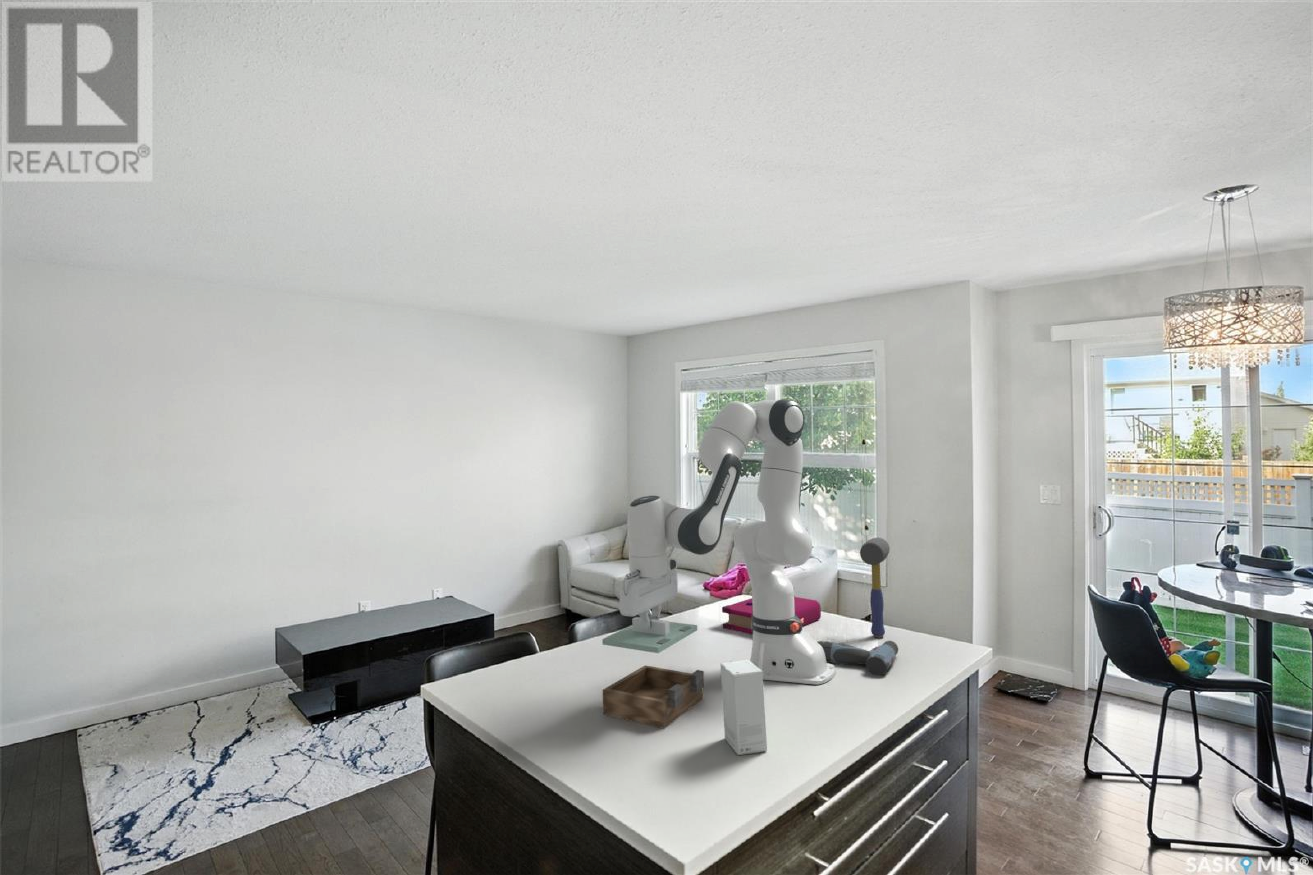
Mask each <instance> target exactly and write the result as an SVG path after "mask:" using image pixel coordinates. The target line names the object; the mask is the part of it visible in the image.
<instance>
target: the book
mask: <svg viewBox="0 0 1313 875" xmlns="http://www.w3.org/2000/svg"><path fill="white" fill-rule="evenodd" d="M794 609H795V615H796V616H797V617H798V618H799V619H800V620H801V619H802V618H804V619H803V621H804V622H803V623H802V627H804V626H806V625H809V624H811V623H814V622H817V621H819V620H820V619H821V618H822V607H821V604H820V602H819V601H818V600H817V599H812V598H811V599H810V598H803V597H797V596H794ZM721 612H722V613H724V614H727V615H728V620H727V622H724V623H722V628H723V629H725V630H729V631H734V632H739V633H744V634H748V635H752V629H751V616H752V614H753V604H752V597H751V598H749V599H745V600H742V601H739V602H736V603H732V604H728V605H724V606H722V607H721Z"/></svg>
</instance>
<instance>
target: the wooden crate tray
mask: <svg viewBox="0 0 1313 875" xmlns="http://www.w3.org/2000/svg"><path fill="white" fill-rule="evenodd" d="M704 673H705V672H704V670H699V669H697V670H695V671H694V672H692V673H689V672H684V671H679V670H672V669H668V668H661V667H656V666H651V665H650V666H649V665H646V664H645V665H644V666H642V667H640V668H638V669H636V670H633V671H632V672H631V673H629V674H627V675H626V676H624V677H622V678H620V679H619V680H617V681H615V682H613V683H612V684H610V685H608V686H607V687H605V688H603V689H602V710H603V713H602V714H603V715H605V714H607V715H606V716H609V715H611V716H610V717H613V716H614V718H618V719H622V720H626V719H628V720H627V721H630V720H631V721H630V722H635V723H639V724H643V723H644V724H643V725H647V724H648V726H653V727H657V728H661V729H665V728H667V727H668V726H669V725H670V723H671V724H672V723H673V722H674V721H676V720H677V719H679V718H680V717H681V716H682V715H685V713H687V711H688V710H690V709H691V708H693V707H695V705H697V704H698V703H700V701H702V700H703V698H704V697H703V689H704V688H705V679H704V678H705V676H704V675H705V674H704Z"/></svg>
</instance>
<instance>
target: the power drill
mask: <svg viewBox="0 0 1313 875" xmlns="http://www.w3.org/2000/svg"><path fill="white" fill-rule="evenodd" d="M816 642H817V643H818V644H820V645H821V646H822V648H823V650H824V653H825V657H826V662H827V663H833V664H840V665H853V666H854V665H865V666H866V669H867V671H868V672H869V673H870V674H872V675H874V676H879V677H880V676H884V674H885V673H886V672H887V671H888V670H889V668H890V667H891V666H892V664H893V663H894V661H895V660H896V656H897V654H898V652H899V646H898V645H897V643H896V642H895V641H893V640H886V641H884V643H882V644H880V645H876V646H875V647H873V648H871V649H870V650H867V649H864V648H861V647H856V646H853V645H849V644H845V643H839V642H833V641H823V640H822V641H821V640H818V641H816Z"/></svg>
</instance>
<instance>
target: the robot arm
mask: <svg viewBox="0 0 1313 875" xmlns="http://www.w3.org/2000/svg"><path fill="white" fill-rule="evenodd" d="M804 426H805V414H804V412H803V408H801V405H800V404H799V403H797V402H796V401H793V400H792V399H791V400H790V399H784V398H783V399H782V398H781V399H763V400H760V401H754V402H743V401H739V400H732V401H730V402H728V403H727V404H725V405H724V406H723V407H722V408H721V410H720V411H719V412H718V413H717V415H716V416H715V417H714V418H713V420H712V421H711V423H710V424H709V426H708V428H707V430H706V431H705V432H704V435H703V436H702V439H700V440H701V441H700V444H699V446H698V456H699V459H700V461H701V462H702V464H703V466H705V468H707V469H708V470H709V471H710V472H711V474H712V476H711V479H710V483H709V484H708V487H707V489H706V492H705V494H704V497H703V499H702V502H701V503H700V504H699V505H697V507H695V508H686V507H679V506H676V505H674V504H671V503H669V502H667V501H665V500H663V499H662V498H661V497H660V496H658V495H648V496H641V497H638V498H635V499H634V500H633V501H631V502H630V503H629V506H628V511H627V538H628V541H629V549H628V564H629V565H628V567H629V573H626V574H625V577H624V578H623V580H622V583H621V586H620V591H619V612H620V614H621V615H622V616H625V617H630V618H631V617H633V618H634V617H637V616H638V617H640V618H641V620H642V627H643V628H645V629H648V628H650V627H652V620H650V619H657V620H660V614H661V611H662V608H663V607H662V604H663V603H666V602H669V601H670V600H672V599H675V598H676V597H677V593H678V587H679V586H678V585H679V584H678V583H679V582H678V572H677V570H676V569H678V559H676V558H672V557H669V556H667V548H670V547H672V548H675V549H677V550H678V549H679V550H684V551H687V552H689V553H692V554H695V555H699V556H701V555H707V554H708V553H710V552H712V551H713V550H714V549H715V548H716V547H717V545H718V544H719V542H720V540H721V536H722V531H723V527H724V521H725V517H726V514H727V512H728V509H729V506H730V504H731V501H732V499H733V497H734V494H735V491H736V489H737V486H738V483H739V480H740V477H741V473H742V469H743V468H742V462H741V461H742V458H743V456H744V454H745V452H746V450H747V448H748V446H749V444H750V442H761V443H762V445H763V448H764V453H763V455H762V461H761V465H760V466H761V467H760V474H759V481H758V487H757V494H756V495H757V496H756V497H757V499H758V501H759V503H761V505H762V507H763V511H764V518H765V520H759V519H757V520H750V521H745V522H742V523H741V524H739V525H738V527H737V528H736V529H735V531H734V534H733V544H734V547H735V549H736V551H737V552H738V553H739V555H740V557H742V560H743V563H744V565H745V568H746V571H747V574H748V578H749V581H750V588H751V598H752V604H753V614H752V616H751V629H752V634H751V635H752V647H751V651H750V652H751V654H750V659H749V661H750V662H752V663H753V664H754V665H755V666H756V667H758V668H759V669H760V670H761V671H763V681H764V680H766V681H776V682H785V683H786V682H787V683H797V684H807V685H821V684H824V683H827V682H829V681H830V680H832V679H833V678H834V676H835V675H836V667H835V665H834V664H831V663H829V662H827V661H826V657H825V653H824V650H823V648H822V646H821V645H820V644H818V643H817V642H818V641H817V640H815V639H814V638H812V637H811V636H810V635H808V633H806V632H805V631H804V630H803V626H802V623H803V622H804V621H803V619H804V618H802V619H801V620H800V619H799V618H798V617H797V616H796V615H795V609H794V597H795V592H794V591H795V589H794V586H793V582H791V580H790V579H789V578H788V577H787V574H786V573H785V571H784V568H783V567H785V568H787V567H788V568H789V567H799V566H802V565H804V564H806V562H807V561H809V559H810V558H811V555H812V551H813V541H812V538H811V536H810V534H809V532H807V530H806V529H805V527H804V524H803V521H802V517H801V512H800V494H801V492H800V491H801V482H802V477H803V465H804V446H803V441H802V439H801V436H802V433H803V430H804ZM650 610H651V614H650ZM649 614H650V616H649Z"/></svg>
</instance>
